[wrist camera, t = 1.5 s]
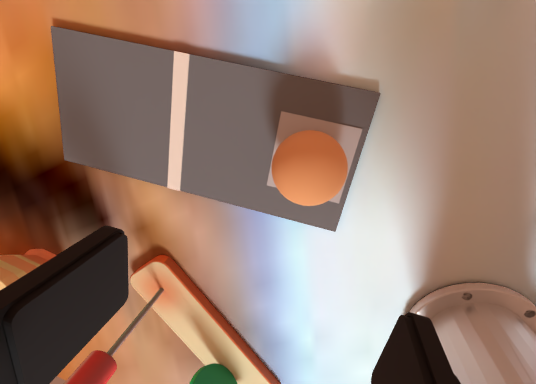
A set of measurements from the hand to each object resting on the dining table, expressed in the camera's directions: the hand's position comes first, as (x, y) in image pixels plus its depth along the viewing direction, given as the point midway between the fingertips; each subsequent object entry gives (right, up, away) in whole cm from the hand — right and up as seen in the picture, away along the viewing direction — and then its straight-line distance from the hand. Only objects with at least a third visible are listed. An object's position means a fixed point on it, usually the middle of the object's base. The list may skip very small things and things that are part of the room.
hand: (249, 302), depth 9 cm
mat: (-6, +10, +18) cm, 21 cm away
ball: (+4, +6, +13) cm, 15 cm away
